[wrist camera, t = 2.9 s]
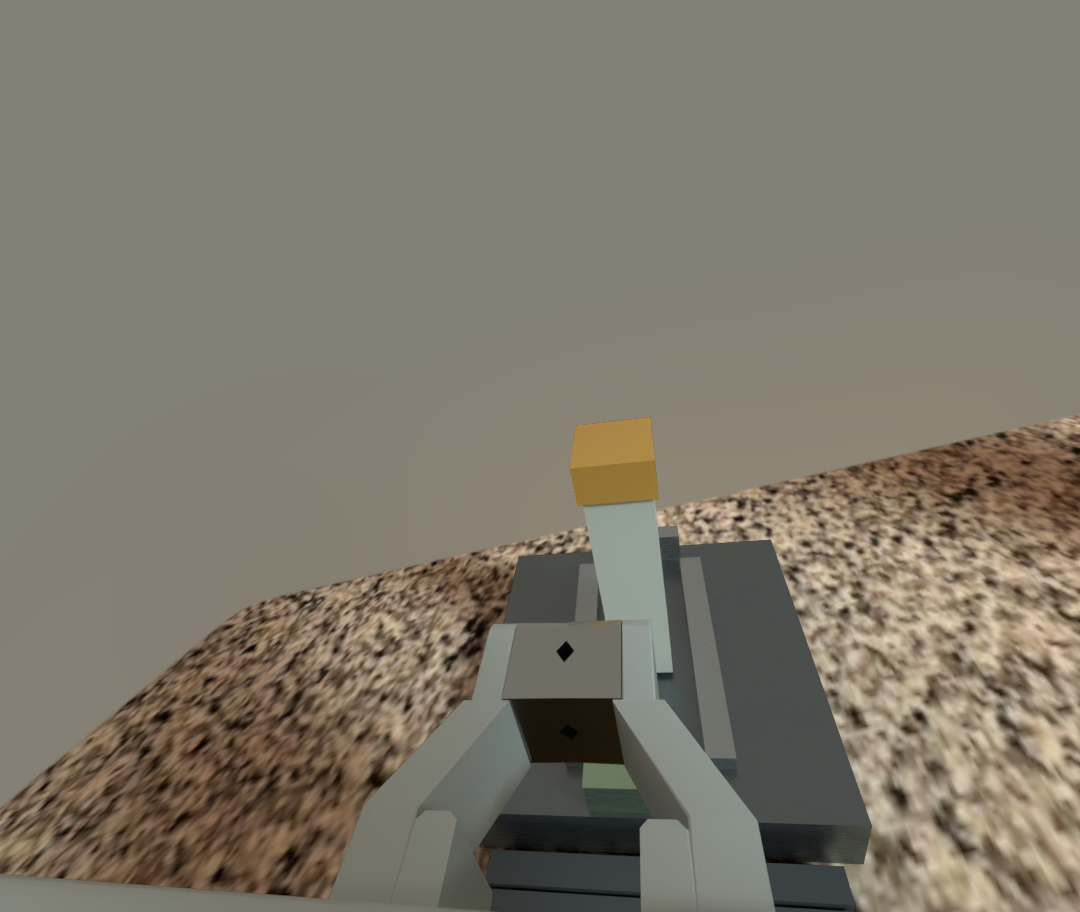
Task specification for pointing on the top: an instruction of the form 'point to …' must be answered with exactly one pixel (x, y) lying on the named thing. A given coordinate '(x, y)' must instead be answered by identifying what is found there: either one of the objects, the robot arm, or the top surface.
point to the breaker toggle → (623, 522)
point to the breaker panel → (702, 709)
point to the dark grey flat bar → (636, 884)
